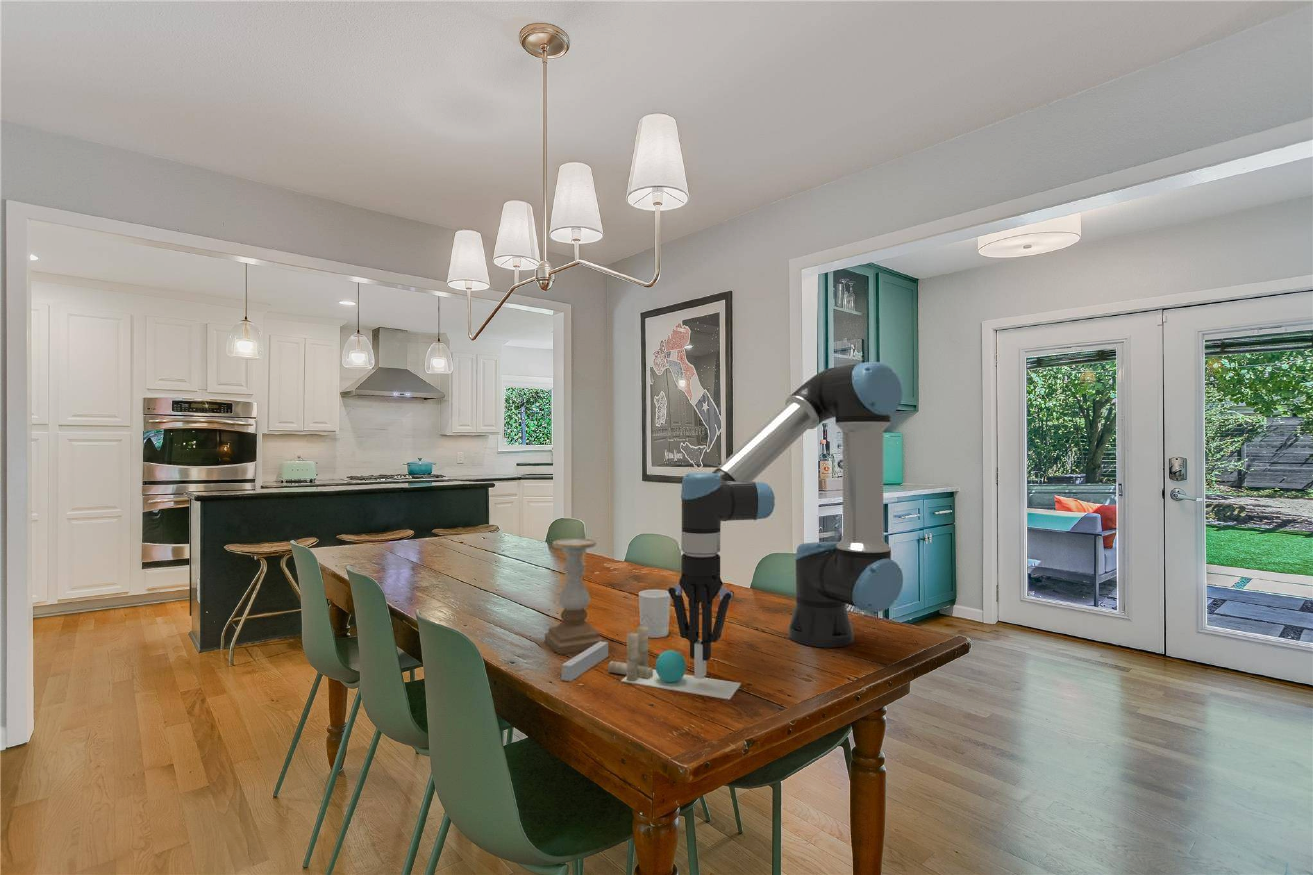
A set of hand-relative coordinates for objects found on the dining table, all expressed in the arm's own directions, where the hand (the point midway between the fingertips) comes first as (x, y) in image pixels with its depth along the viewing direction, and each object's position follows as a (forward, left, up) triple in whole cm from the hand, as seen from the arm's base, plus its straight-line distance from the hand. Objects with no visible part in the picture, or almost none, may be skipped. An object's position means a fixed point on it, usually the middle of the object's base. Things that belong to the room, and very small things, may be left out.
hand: (700, 676), depth 120 cm
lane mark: (+4, 0, -2) cm, 4 cm away
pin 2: (+13, -2, -2) cm, 14 cm away
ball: (+6, 0, +1) cm, 6 cm away
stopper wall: (+25, 0, -2) cm, 25 cm away
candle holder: (+35, -12, -2) cm, 37 cm away
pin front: (+10, 0, -1) cm, 10 cm away
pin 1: (+13, +2, -2) cm, 14 cm away
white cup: (+21, -27, -2) cm, 34 cm away
